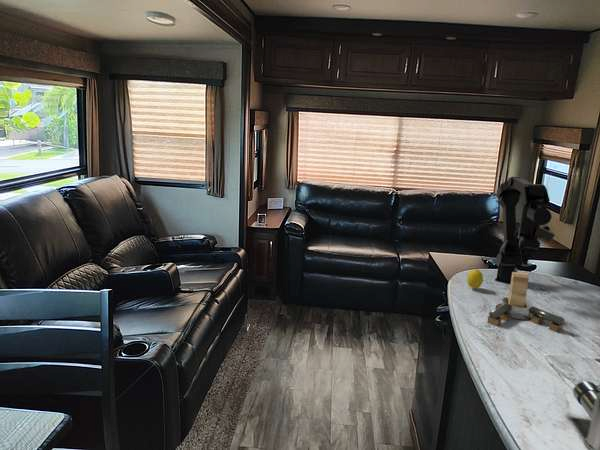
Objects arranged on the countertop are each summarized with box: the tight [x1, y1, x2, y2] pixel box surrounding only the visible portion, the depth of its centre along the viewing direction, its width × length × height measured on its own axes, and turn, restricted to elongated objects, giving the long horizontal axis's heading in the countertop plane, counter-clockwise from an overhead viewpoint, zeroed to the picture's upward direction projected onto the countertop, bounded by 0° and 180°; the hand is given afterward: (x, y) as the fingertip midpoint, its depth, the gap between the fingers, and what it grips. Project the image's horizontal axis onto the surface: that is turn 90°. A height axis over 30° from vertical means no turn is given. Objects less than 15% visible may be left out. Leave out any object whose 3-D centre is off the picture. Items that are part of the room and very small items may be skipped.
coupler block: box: [507, 272, 530, 308], centre depth 148 cm, size 5×5×12 cm
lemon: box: [466, 268, 484, 290], centre depth 169 cm, size 6×6×8 cm
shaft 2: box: [529, 305, 565, 333], centre depth 141 cm, size 10×3×4 cm, turn 30°
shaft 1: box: [486, 304, 512, 327], centre depth 143 cm, size 10×3×4 cm, turn 130°
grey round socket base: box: [494, 297, 533, 321], centre depth 150 cm, size 12×12×3 cm
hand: (523, 260), depth 164 cm, fingers open, 9 cm apart
